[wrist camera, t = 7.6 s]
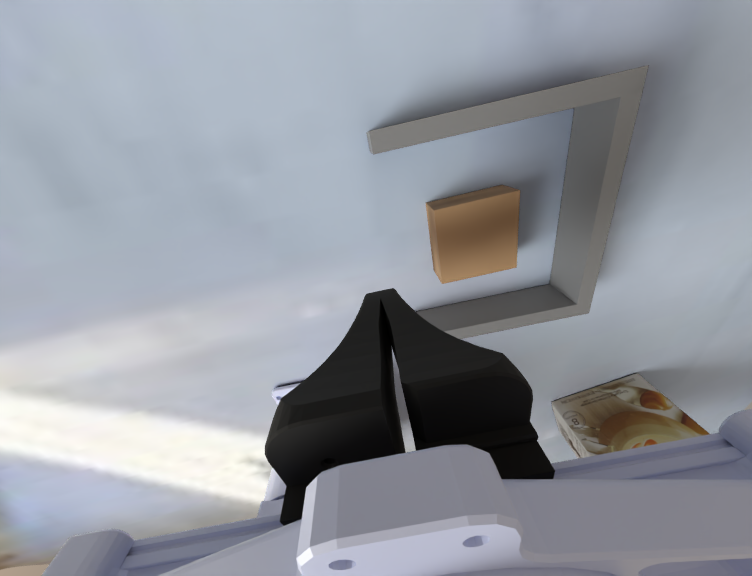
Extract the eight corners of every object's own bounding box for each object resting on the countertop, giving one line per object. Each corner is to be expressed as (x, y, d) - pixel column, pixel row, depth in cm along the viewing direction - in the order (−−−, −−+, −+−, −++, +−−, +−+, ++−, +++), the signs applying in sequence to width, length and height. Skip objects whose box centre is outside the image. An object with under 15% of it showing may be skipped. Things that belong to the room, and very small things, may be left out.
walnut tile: (498, 253, 20) (516, 267, 18) (432, 268, 20) (442, 283, 18) (499, 184, 17) (520, 190, 15) (424, 201, 18) (434, 210, 15)
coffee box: (638, 369, 27) (947, 618, 13) (638, 404, 30) (889, 638, 16) (548, 401, 28) (735, 655, 14) (556, 431, 31) (718, 667, 17)
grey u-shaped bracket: (560, 292, 21) (588, 313, 19) (403, 324, 22) (409, 349, 19) (596, 78, 15) (648, 65, 12) (366, 132, 15) (368, 131, 12)
